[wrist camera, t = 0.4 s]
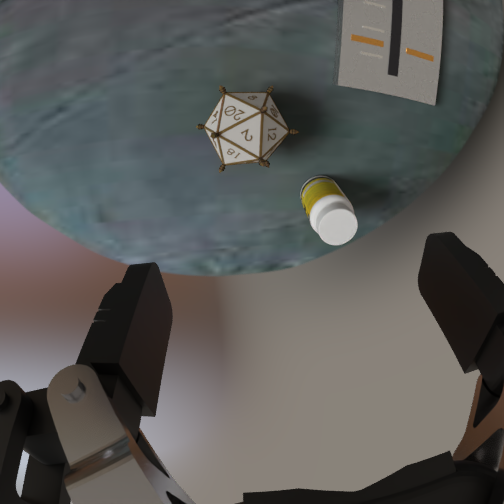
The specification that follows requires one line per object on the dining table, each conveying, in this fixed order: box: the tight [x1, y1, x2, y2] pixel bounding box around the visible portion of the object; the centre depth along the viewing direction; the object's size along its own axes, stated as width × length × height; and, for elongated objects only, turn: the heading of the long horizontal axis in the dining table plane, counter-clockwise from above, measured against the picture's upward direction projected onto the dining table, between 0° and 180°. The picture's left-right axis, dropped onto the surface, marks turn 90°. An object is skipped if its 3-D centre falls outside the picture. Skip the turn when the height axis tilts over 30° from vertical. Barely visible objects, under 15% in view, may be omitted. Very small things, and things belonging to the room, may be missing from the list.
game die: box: [196, 86, 299, 173], centre depth 29 cm, size 9×8×10 cm
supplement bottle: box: [300, 176, 358, 245], centre depth 33 cm, size 5×5×8 cm
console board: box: [333, 0, 443, 106], centre depth 24 cm, size 20×12×2 cm, turn 177°
